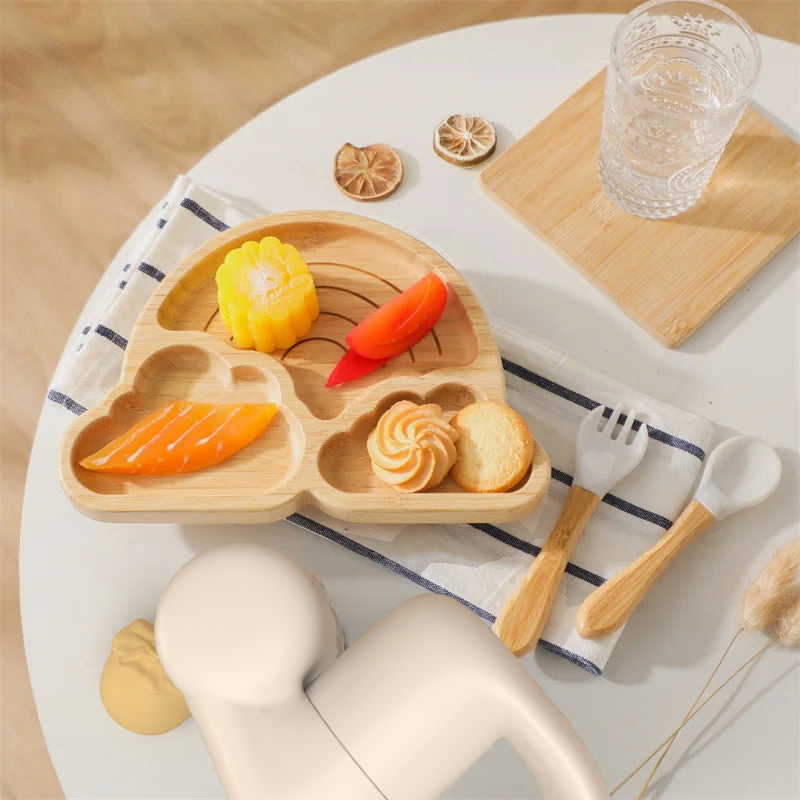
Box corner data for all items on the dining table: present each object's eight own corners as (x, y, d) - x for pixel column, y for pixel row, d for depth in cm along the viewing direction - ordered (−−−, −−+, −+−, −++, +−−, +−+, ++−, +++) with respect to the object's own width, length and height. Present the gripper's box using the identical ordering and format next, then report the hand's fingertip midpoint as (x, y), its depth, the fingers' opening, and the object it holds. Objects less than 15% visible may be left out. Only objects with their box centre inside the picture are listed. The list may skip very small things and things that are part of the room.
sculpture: (233, 663, 109) (213, 655, 99) (173, 754, 106) (146, 755, 96) (158, 612, 111) (131, 599, 101) (97, 699, 108) (62, 695, 98)
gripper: (378, 784, 48) (391, 771, 65) (306, 487, 54) (336, 547, 71) (240, 824, 48) (290, 800, 65) (182, 521, 54) (242, 572, 71)
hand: (314, 668), depth 68 cm, fingers closed on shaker, 4 cm apart
